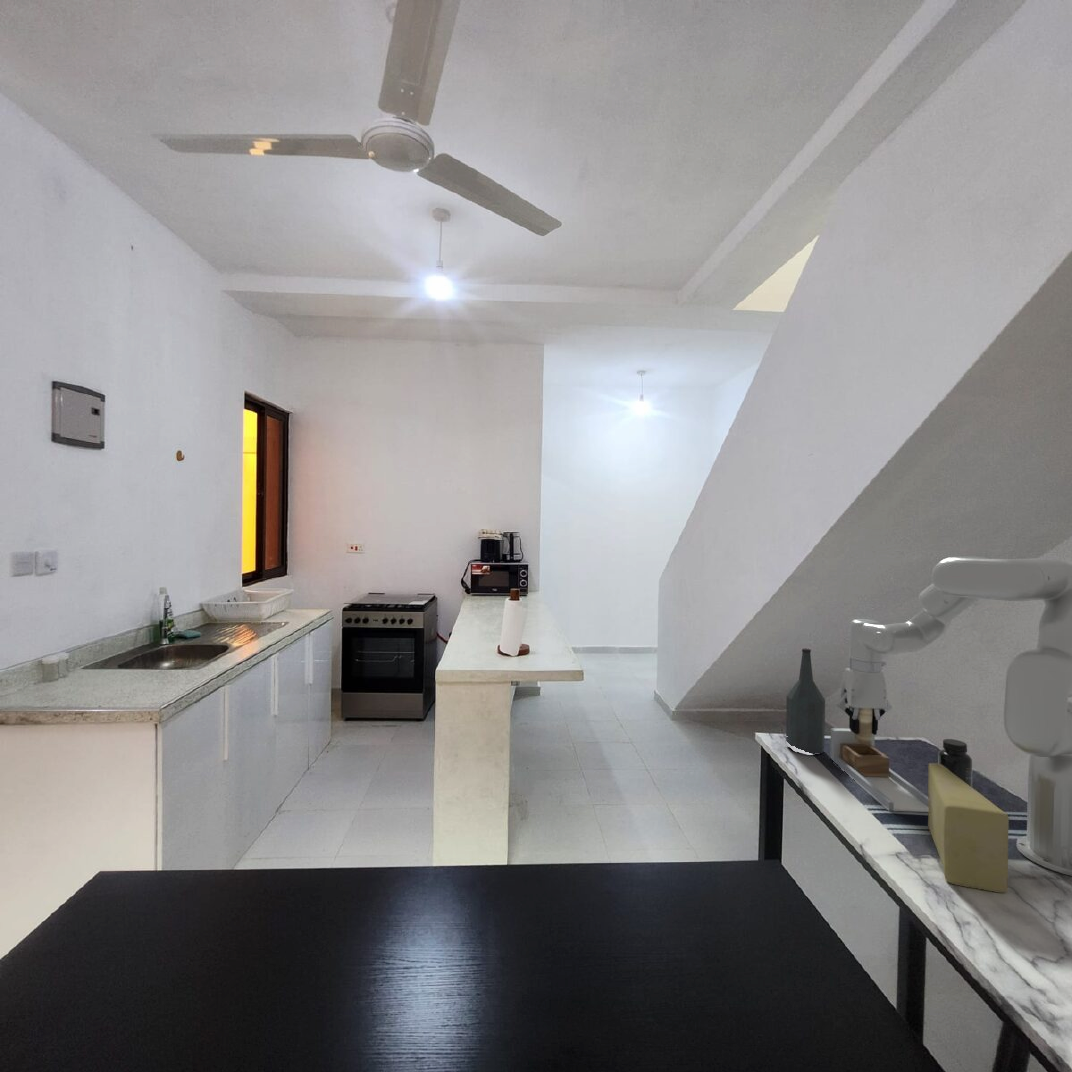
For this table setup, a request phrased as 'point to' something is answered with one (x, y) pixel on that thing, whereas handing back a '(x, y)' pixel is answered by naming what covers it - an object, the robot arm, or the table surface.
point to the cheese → (967, 832)
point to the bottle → (806, 711)
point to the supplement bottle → (956, 759)
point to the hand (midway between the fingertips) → (863, 731)
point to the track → (879, 779)
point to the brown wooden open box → (865, 759)
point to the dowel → (864, 726)
